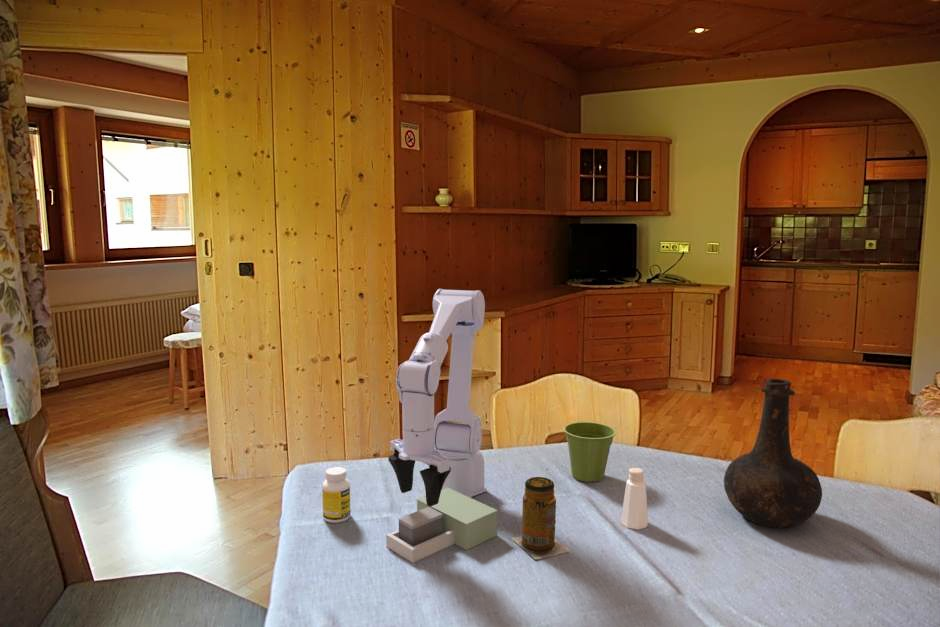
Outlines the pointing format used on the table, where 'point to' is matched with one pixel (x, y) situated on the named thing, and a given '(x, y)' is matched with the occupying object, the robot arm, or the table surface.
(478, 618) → the table surface
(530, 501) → the condiment
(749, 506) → the glass bottle
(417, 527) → the grey rectangular block
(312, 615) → the table surface
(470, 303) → the robot arm
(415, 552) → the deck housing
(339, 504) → the supplement bottle
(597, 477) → the plant pot
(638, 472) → the salt shaker
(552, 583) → the table surface
